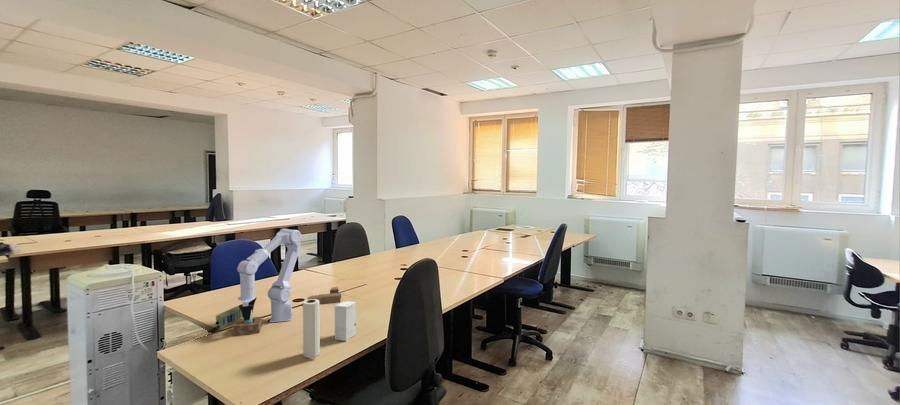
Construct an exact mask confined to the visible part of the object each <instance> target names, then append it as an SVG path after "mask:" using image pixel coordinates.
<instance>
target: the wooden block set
mask: <svg viewBox="0 0 900 405" xmlns="http://www.w3.org/2000/svg"><path fill="white" fill-rule="evenodd" d="M339 291H340V290H339V286H334V287H333V286H332V287H331V288H330V289H329V293H321V294H317V295H315V294H314V295H309V296H308V297H307V300H309V299H317V300H319V305H328V304H329V305H330V304H339V303H341V299H342V292H339Z"/></svg>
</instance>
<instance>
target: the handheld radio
mask: <svg viewBox="0 0 900 405" xmlns="http://www.w3.org/2000/svg"><path fill="white" fill-rule="evenodd" d="M240 305H243V303H241V304H240ZM242 318H243V314H242V312H241V310H240V309H239V305H237V306H234V307H232V308H230V309H228V310H225V311H223V312H221V313H218V314H217V315H215V321H216V322H215V325H216V326H214V327H213V328H211V329H209V330H207V333H208V334H211V333H213V332H214V331H216V330H222V329H225V328H226V327H229V326H231V325H234V324H235V323H236V321H237V320H238V319H242ZM234 322H235V323H234Z"/></svg>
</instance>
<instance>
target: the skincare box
mask: <svg viewBox="0 0 900 405" xmlns="http://www.w3.org/2000/svg"><path fill="white" fill-rule="evenodd" d="M356 335H357V302H356V301H349V300H347V301H345V300H344V301H342V302H340V303H337V304H336V305H334V340H337V341H342V342H347V341H348V340H350V339H351V338H353V337H354V336H356Z"/></svg>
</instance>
